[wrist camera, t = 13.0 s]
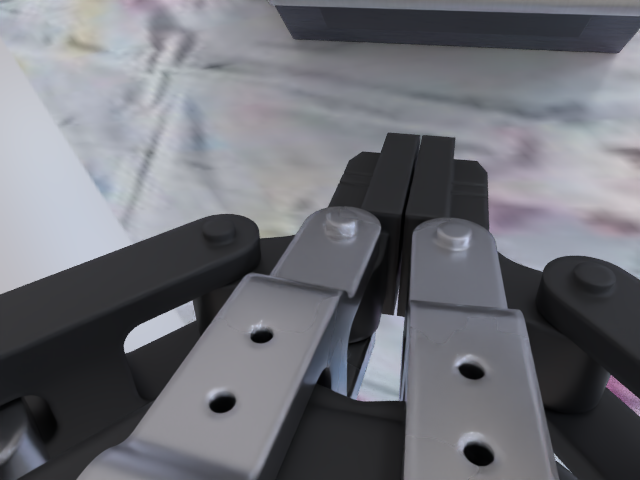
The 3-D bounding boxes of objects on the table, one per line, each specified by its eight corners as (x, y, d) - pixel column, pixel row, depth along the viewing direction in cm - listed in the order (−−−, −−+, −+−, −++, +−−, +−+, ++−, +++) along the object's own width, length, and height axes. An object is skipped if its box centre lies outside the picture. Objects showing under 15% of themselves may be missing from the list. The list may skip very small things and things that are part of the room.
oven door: (612, 112, 28) (759, -17, 15) (286, 91, 32) (195, -27, 19) (622, 24, 28) (776, -174, 16) (296, 13, 32) (212, -154, 19)
